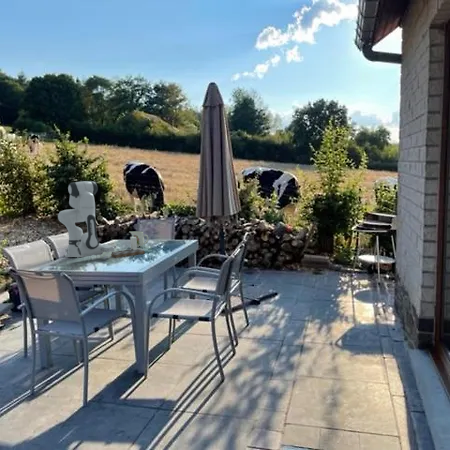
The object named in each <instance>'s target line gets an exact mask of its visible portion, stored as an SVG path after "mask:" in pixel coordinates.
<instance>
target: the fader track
mask: <svg viewBox="0 0 450 450" xmlns="http://www.w3.org/2000/svg"><path fill="white" fill-rule="evenodd" d="M141 248H142V247H137V249H138V250H133V251H131V248H130V249H124V250H123V249H122V250H117V251H115V250H114V251H113V252H111V253H110V256H111V257H113V258H115V259H117V258H123V257H130V256H138V255H144V254H145V249H144V248H143V249H141Z"/></svg>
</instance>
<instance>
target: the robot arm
mask: <svg viewBox="0 0 450 450" xmlns="http://www.w3.org/2000/svg"><path fill="white" fill-rule="evenodd" d="M67 189H68V193H69V201H68V204H69V206H70V207H71V208H72V209H71V208H70V209H64V210H61V211H59V213H58V214H57V220H58V221H59V222H60V223H61V224H63V225H64V226H65V228H66V229H67V232H68V245H67V247H66V249H65V253H64V257H65V258H66V257H77V258H82V257H91V256H97V255H103V253H109V252H110V253H112V252H115V249H117V245H110V244H107V243H106V244H105V243H100V240H99V238H98V235H97V234H98V233H97V222H96V202H95V196H94V195H96V194H97V192H98V185H97V183H96V181H94V180H93V181H92V180H89V181H88V180H85V181H84V180H82V181H76V182H74V181H73V182H70V183H69V184H68V187H67ZM84 222H85V223H86V226H87V227H86V229H87V232H85V233H84V231H83V228H81V227H79V226H77V225H76V223H84Z"/></svg>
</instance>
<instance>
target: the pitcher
mask: <svg viewBox="0 0 450 450" xmlns="http://www.w3.org/2000/svg"><path fill="white" fill-rule="evenodd" d="M129 233H130V234H131V237H136V238H137V248H140V247H139V246H142V247H143V246H144V245H145V244H147V243H148V242H149V236H148V234H144V231H139V230H138V231H136V230H135V231H129ZM145 238H146V241H145Z"/></svg>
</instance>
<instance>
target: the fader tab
mask: <svg viewBox="0 0 450 450" xmlns="http://www.w3.org/2000/svg"><path fill="white" fill-rule="evenodd" d="M129 239H130V242H129V243H130V249H131V251H133V250H138V247H137V238H136V237H132V236H130V237H129Z"/></svg>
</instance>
